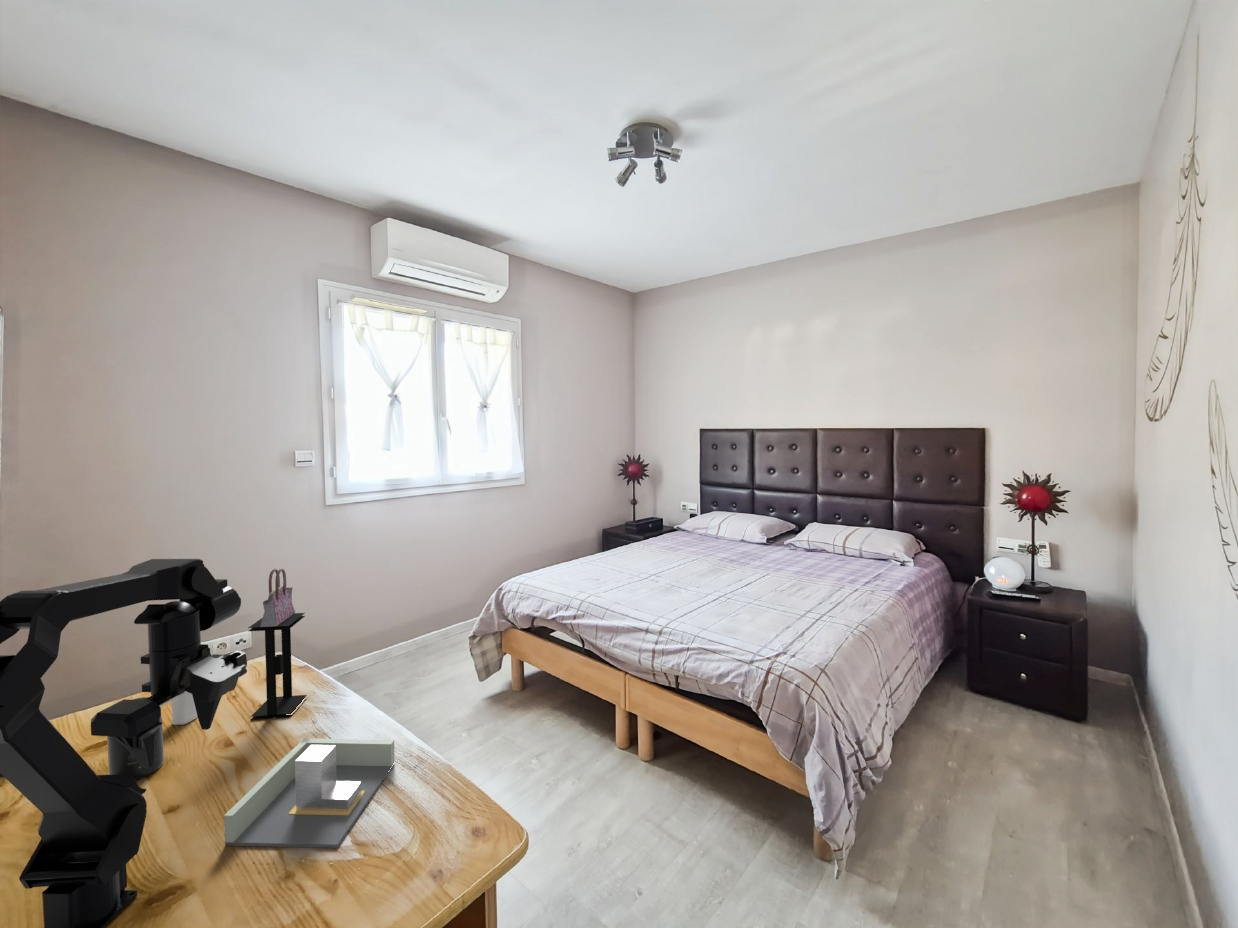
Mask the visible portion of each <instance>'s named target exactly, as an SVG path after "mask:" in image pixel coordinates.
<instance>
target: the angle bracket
mask: <svg viewBox="0 0 1238 928" xmlns="http://www.w3.org/2000/svg"><path fill="white" fill-rule="evenodd" d="M295 783H296V811H323V812H348V811H349V810H350V809H351V807H352V806H353V805H354V803H355V802H356V800H357V799H358V798H359V796H360V795H361V793H362V792H361V782H359V781H337V776H336V745H310V746H309V747H308V748H307V749H306V750H305V751H304V752H303V753H302V754H301V755H300V756H299V757H298V758H297V759H296V760H295Z"/></svg>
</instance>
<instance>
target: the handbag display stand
mask: <svg viewBox="0 0 1238 928" xmlns="http://www.w3.org/2000/svg"><path fill="white" fill-rule="evenodd" d="M274 573H275V582H274V583H275V589H274V590H273V585H272V584H273V581H272V580H273V575H274ZM280 574H282V581H283V583H282V585H281V584H280V583H281V580H280V579H281V577H280ZM268 575H269V576H268V598H267V599H265V600H264V601H263V602H262V605H263V609H264V610H263V611H264V612H263V616H262V617H261V618H260V619H258V620H257V621H256V622H255V623H253V624H251V625H250V626H248V627H247V628H248V629H249V630H248V632H260V631H261V632H262V631H263V632H264V643H265V644H264V647H265V648H264V649H265V650H264V651H265V677H266V678H265V682H266V685H265V686H266V700H265V701H264V703H262V704H261V705H260V706H259V707H258V709H256V710H255V712H253V713H252V714H251V715H250V718H251V719H250V720H251V721H255V720H269V719H270V720H271V719H282V718H283V719H284V718H292V717H293V715H286V714H291V713H292V712H293V711H294V710H295V709H296V707H297V706H298V705H299V704H300V703H301V702H302V700H303V699H304V698H307V694H301V695H300V694H299V695H293V681H292V680H293V677H292V676H293V675H292V642H291V641H292V639H291V636H292V635H291V633H292V632H291V628H293V627H294V626H295V625H296V624H298V623H299V622H300V621H301V620H302V619H303V618H305V617H306V615H304V614H306V612H296V609H295V607H294V605H293V604H294V603H293V598H292V597H293V596H292V595H293V587H287V574H286V570H285V569H284V568H280V569H279V570H278V569H277V568H273V569H272V570H271V571H270V572H269V574H268ZM276 631H281V632H280V633H281V653H280V654H276V635H275V632H276ZM279 675H282V695H281V696H277V676H279Z"/></svg>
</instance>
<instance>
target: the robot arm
mask: <svg viewBox="0 0 1238 928" xmlns="http://www.w3.org/2000/svg"><path fill="white" fill-rule="evenodd" d="M169 600H170V601H169ZM171 600H172V601H171ZM178 600H179V601H178ZM148 601H169V602H167V603H161V604H159V603H158V604H156V603H153V604H151V603H150V604H148V605H147V606H146V607H145V609H144V610H143V611H142V612H141V613H139V614H138V615H137V616H136V618H134V620H133V624H134V625H147V642H148V653H147V654H144V655H142V656H140V665H148V670H149V671H148V672H149V673H148V675H149V680H148V681H147V682H145V683H143V684H141V692H142V693H150V696H148V698H146V699H145V700H133V699H127V698H126V699H122V700H120V701H118V702H115V703H114V704H112V705H110V706H108V707H106V708H103V709H102V710H100V711H98V712H96V714H95V715H94V716H93V717H92V718H91V719H90V736H94V737H96V736H97V737H107V736H111V737H115V738H116V739H117V740H118V741H119V742H121V743H122V744H123V745H124V746H125V747H126V748H127V749H128V751H129V752H130V753H131V754H132V755H133V756H134V758H135V759H136V760H137V761H138V762H139V763H140V765H141V766H142V767H143V768H151V767H152V766H153V762H154V733H155V731H156V730H157V729H158V728H159V727H160V726H161V725H162V726H163V723H164V722H163V721H162V722H157V721H158V719H159V718H160V716H161V717H162V707H163V706H165V705H167V704H169V703H170V702H171V703H172V700H174V699H176V698H178V697H180V696H181V695H183V694H185V693H187V692H189V693H191V694H192V696H193V700H194V704H195V708H196V712H197V716H198V717H197V720H198V722H199V725H200V728H201V730H209V729H211V728H212V727H211V726H212V724H213V721H214V718H215V715H216V714H217V713H216V712H217V710H218V707H219V704H220V702H221V699H222V697H223V696H224V695H226V694H228V693H229V692H233V691H234V690H235V689H236V686H237V684H238V681H239V678H241V677H242V676H244V675H246V674H247V673H248V669H247V666H248V659H247V653H246V652H245V651H242V650H241V649H239V650H238V649H236V650H235V651H233V652H231V653H229V654H217V653H215V654H211V648H210V647H209V644H206V643H205V644H201V643H202V642H201V639H202V638H201V632H204V631H207V630H209V629H211V628H212V627H215V626H216V625H219V624H220V623H222V622H224V621H226V620H228V619H230V618H231V617H234V616H235V615H236V614H237V613H238V612H239V611H240V608H241V605H242V598H241V597H240V596H239V593H238V592H237V591H236V590H235V588H233V587H231V586H229V585H228V579H226V578H220V579H219V578H217V579H215V577H214V576H213V574H212V573H211V572H210V570H209V568H207V567H206V566H205V564H204V561H203V559H200V558H151V559H149V560H148V559H147V560H145V561H143V562H139V563H138V564H135V565H132V566H131V567H130V568H129V569H128V571H125V572H124V573H121V574H116V575H110V576H105V577H98V578H94V579H88V580H84V581H79V582H73V583H69V584H68V583H66V584H63V585H62V584H61V585H57V586H51V587H47V588H41V589H37V590H35V589H34V590H32V589H31V590H30V589H29V590H20V591H16V592H14V593H11V594H9V595H6V597H4V598H2V599H1V600H0V645H1V644H3V643H4V642H6V641H7V640H8V639H10V638H11V637H13V636H15V635H16V634H17V633H18V632H19V631H20V630H21V629H23V630H24V629H25V630H28V629H29V631H28V636H27V641H26V642H25V644H24V645H23V646H22V647H21V648H20V649H19V651H18V652H17V653H16V654H11V655H10V654H9V655H7V654H6V655H5V654H4V655H3V654H2V655H0V775H1V776H3V777H4V778H5V779H6V780H7V782H8V783H10V784H11V785H12V786H13V787H14V788H15V789H16V790H18V792H19V793H21V795H23V796H24V798H26V799H27V800H28V801H29V802H30V803H31V804H32V805H34V807H35V808H37V810H39V811H40V813H42V818H41V821H40V824H39V826H38V828H37V833H38V835H39V837H40V838H41V839H40V841H39V842H38V844H37V846H36V848H35V849H34V851H33V853H32V854H31V856H30V858H29V860H28V862H27V863H26V865H25V867H24V869H22V872H21V873H20V875H19V878H18V880H19V882H20V883H21V885H22V886H23V888H25V889H26V890H27V889H29V890H30V889H34V888H44V887H47V888H45V889H44V890H43V891H42V893H41V896H42V897H41V898H42V913H43V914H42V915H43V928H105V927H106V926H108V924H110V923H111V922H112V921H113V920H114V919H115V918H116V917H117V916H118V915H119V914H120V913H121V912H122V911H123V910H124V909H125V908H126V907H127V906H128V905H129V904H130V903H131V902H132V901H133V900H134V899H136V897H137V896H138V890H135V889H133V890H132V889H131V890H130V889H129V890H127V888H128V879H127V878H128V877H127V864H128V863H129V862H130V861H131V860H132V859H133V858H134V857H135V856H137V854H138V853H139V850H140V846H141V841H142V836H143V833H144V828H145V822H146V818H147V813H148V812H147V811H148V809H147V806H148V805H147V801H146V798H145V796H144V795H143V794H145V793H146V792H147V788H142V787H141V786H139V785H138V782H137V780H136V779H135V778H134V777H133V776H132V775H131V774H112V775H109V774H97V773H96V772H95V771H94V770H93V769H92V767H90V765H89V764H88V763H87V762H86V761H85V760H84V758H83V757H82V756H81V755H80V754H79V753H78V751H76V749H74V747H73V746H72V745H71V744H70V743H69V742H68V741H67V739H66V738H65V737H64V736H63V735H62V734H61V733H60V731H59V730H58V729H57V728H56V726H54V724H53V723H51V721H50V720H49V719H48V718H47V716H45V714H44V713H43V712H42V711H41V709H40V705H41V703H42V699H43V696H44V694H45V690H46V687H45V684H44V683H43V680H42V677H43V676H44V675H45V673H47V672H48V670H49V669H50V667H52V665H53V664H54V662H55V661H56V660H57V658H58V656H59V650H60V642H61V634H62V632H63V630H64V629H65V628H66V627H67V625H68V624H69V623H70V622H72V621H76V620H80V619H85V618H88V617H90V616H94V615H99V614H102V613H106V612H110V611H115V610H117V609H122V608H125V607H129V606H132V605H136V604H141V603H145V602H148ZM104 926H105V927H104Z"/></svg>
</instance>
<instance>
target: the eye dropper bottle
mask: <svg viewBox="0 0 1238 928" xmlns="http://www.w3.org/2000/svg"><path fill="white" fill-rule="evenodd" d="M171 714H172V715H171V717H172V725H174V726H183V725H186V724H188V723H190V722H192V721H194V720H195V719H198V716H197V712H196V708H195V704H194V700H193V696H192V694H191V693H189V692H187V693H185V694H183V695H181V696H180V697H178V698H176V699H174V700H172V701H171Z"/></svg>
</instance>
